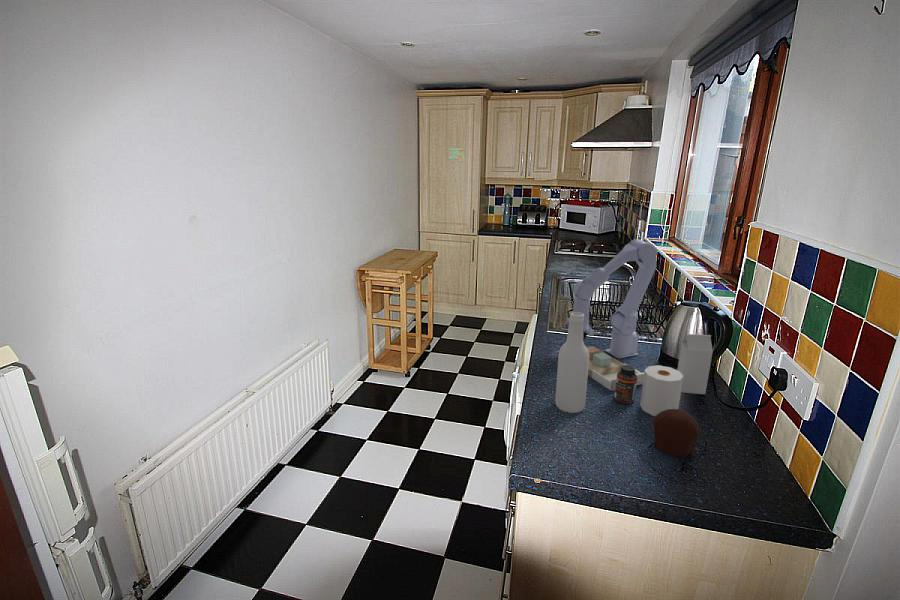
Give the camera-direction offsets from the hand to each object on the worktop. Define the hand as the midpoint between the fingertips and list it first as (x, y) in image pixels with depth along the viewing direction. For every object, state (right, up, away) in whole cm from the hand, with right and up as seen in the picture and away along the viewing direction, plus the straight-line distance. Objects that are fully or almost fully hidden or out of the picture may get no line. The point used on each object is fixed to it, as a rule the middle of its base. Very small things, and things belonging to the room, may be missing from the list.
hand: (578, 346), depth 172 cm
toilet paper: (+14, -15, -37) cm, 42 cm away
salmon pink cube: (+3, -3, -7) cm, 8 cm away
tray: (+8, -9, -19) cm, 23 cm away
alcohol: (-13, -15, -35) cm, 40 cm away
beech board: (+4, -6, -9) cm, 11 cm away
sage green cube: (+5, -5, -12) cm, 14 cm away
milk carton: (+29, -11, -25) cm, 40 cm away
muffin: (+9, -21, -55) cm, 59 cm away
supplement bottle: (+5, -14, -31) cm, 35 cm away
